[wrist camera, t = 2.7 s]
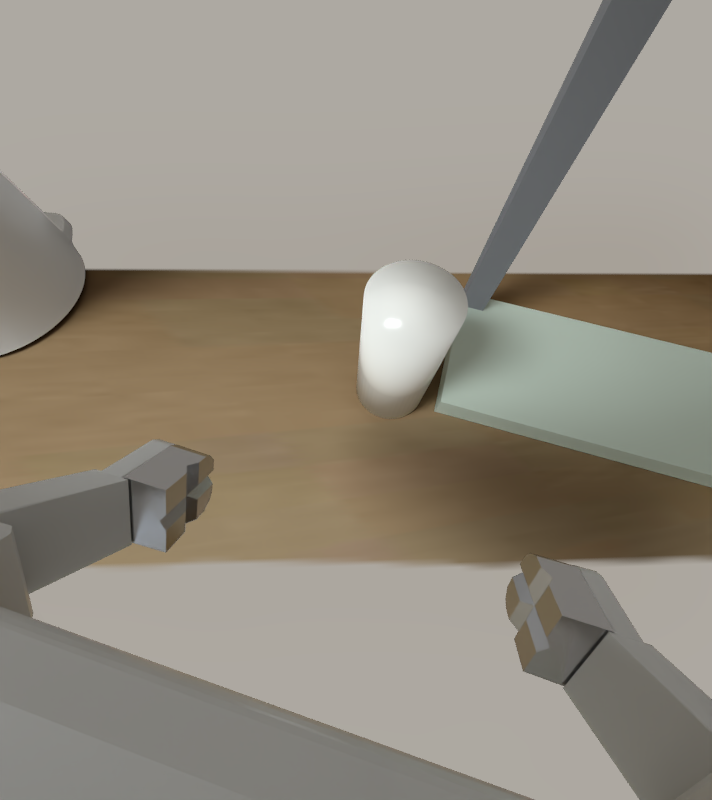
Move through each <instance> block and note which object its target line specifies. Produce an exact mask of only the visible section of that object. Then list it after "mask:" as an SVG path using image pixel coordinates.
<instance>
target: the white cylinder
mask: <svg viewBox="0 0 712 800" xmlns="http://www.w3.org/2000/svg"><path fill="white" fill-rule="evenodd" d="M467 312H468V300H467V296H466V293H465V291H464V289H463V287H462V285H461V284H460V283H459V281H458V280H457V279H456V278H455V277H454V276H453V275H452V274H450V273H449V272H448V271H446V270H445V269H443V268H441V267H439V266H437V265H434V264H432V263H428V262H424V261H418V260H403V261H398V262H394V263H391V264H388V265H386V266H384V267H383V268H381V269H379V270H378V271H377V272H375V273H374V274H373V275H372V277H371V278H370V279H369V281H368V283H367V285H366V287H365V291H364V300H363V313H362V325H361V337H360V349H359V362H358V374H357V386H356V388H357V395H358V398H359V400H360V402H361V403H362V405H363V406H364V407H365V408H366V409H367V410H368V411H369V412H370V413H372V414H374V415H376V416H378V417H381V418H385V419H396V418H401V417H404V416H406V415H408V414H410V413H411V412H412V411H413V410H414V409H415V408H416V407H417V406H418V404H419V402H420V401H421V399H422V397H423V395H424V393H425V392H426V390H427V388H428V386H429V384H430V383H431V381H432V379H433V377H434V375H435V374H436V372H437V370H438V368H439V366H440V364H441V363H442V361H443V359H444V357H445V355H446V354H447V352H448V350H449V348H450V346H451V345H452V343H453V341H454V339H455V337H456V336H457V334H458V332H459V330H460V328H461V327H462V325H463V323H464V321H465V319H466V316H467Z"/></svg>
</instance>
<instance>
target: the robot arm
mask: <svg viewBox="0 0 712 800" xmlns="http://www.w3.org/2000/svg"><path fill="white" fill-rule="evenodd" d="M84 281H85V266H84V263H83V260H82V258H81V256H80V254H79V253H78V251H77V250H76V249H75V247H74V246H73V243H72V226H71V224H70V223H69V222H68V221H67V220H66V219H65V218H64V217H63V216H61V215H60V214H56V213H45V212H43V211H42V210H41V209H40V208H39V207H38V206H36V204H34V203H33V202H32V201H31V200H30V199H29V198H28V197H27V196H26V195H25V194H24V193H23V192H22V191H21V190H20V189H19V188H18V187H17V186H16V185H15V184H14V183H13V182H12V181H11V180H9V179H8V178H7V177H6V176H5V175H4V174H3V173H2V172H1V171H0V355H3V354H6V353H9V352H11V351H14V350H16V349H19V348H21V347H23V346H25V345H27V344H29V343H31V342H33V341H34V340H36V339H38V338H39V337H41V336H42V335H44V334H45V333H47V332H48V331H49V330H51V329H52V328H53V327H54V326H56V325H57V324H58V323H59V322H60V321H61V320H62V319H63V318H64V317H65V316H66V315H67V314H68V313H69V311H70V310H71V309H72V307H73V306H74V305H75V303H76V301H77V300H78V298H79V296H80V294H81V292H82V289H83V286H84ZM213 470H214V459H213V458H212V457H211V456H210V455H207V454H204V453H201V452H198V451H195V450H192V449H189V448H185V447H182V446H179V445H175V444H173V443H169V442H166V441H163V440H160V439H156V440H152V441H150V442H148V443H147V444H145V445H143V446H142V447H140V448H138V449H137V450H135V451H133V452H132V453H130V454H129V455H127V456H125V457H124V458H122V459H120V460H119V461H117V462H115V463H114V464H112V465H111V466H109V467H107V468H106V469H104V470H102V471H99V470H96V469H94V470H90V471H85V472H80V473H76V474H71V475H66V476H62V477H57V478H52V479H48V480H43V481H38V482H34V483H29V484H24V485H20V486H15V487H10V488H6V489H1V490H0V800H534V799H531V798H528V797H526V796H523V795H520V794H517V793H514V792H512V791H509V790H506V789H504V788H501V787H498V786H495V785H493V784H490V783H487V782H484V781H481V780H479V779H476V778H473V777H470V776H468V775H465V774H462V773H459V772H457V771H454V770H451V769H448V768H446V767H443V766H440V765H437V764H435V763H432V762H429V761H426V760H424V759H421V758H418V757H415V756H412V755H410V754H407V753H404V752H401V751H399V750H396V749H393V748H390V747H388V746H385V745H382V744H379V743H376V742H374V741H371V740H368V739H366V738H362V737H360V736H357V735H354V734H352V733H349V732H346V731H343V730H341V729H338V728H335V727H332V726H330V725H327V724H324V723H321V722H319V721H315V720H313V719H310V718H307V717H304V716H302V715H299V714H296V713H294V712H291V711H288V710H285V709H282V708H280V707H277V706H274V705H271V704H269V703H266V702H263V701H260V700H257V699H255V698H252V697H249V696H246V695H243V694H241V693H238V692H235V691H233V690H229V689H227V688H224V687H221V686H219V685H216V684H213V683H210V682H208V681H205V680H202V679H199V678H197V677H194V676H191V675H188V674H185V673H183V672H180V671H177V670H174V669H171V668H169V667H166V666H163V665H160V664H158V663H155V662H152V661H150V660H147V659H144V658H141V657H138V656H136V655H133V654H130V653H127V652H125V651H122V650H119V649H116V648H113V647H111V646H108V645H105V644H102V643H99V642H97V641H94V640H91V639H88V638H86V637H83V636H80V635H78V634H75V633H72V632H69V631H67V630H64V629H61V628H58V627H55V626H52V625H50V624H47V623H44V622H42V621H39V620H36V619H33V618H32V617H33V610H32V606H31V602H30V598H29V594H30V593H32V592H34V591H36V590H38V589H40V588H42V587H44V586H47V585H49V584H51V583H53V582H55V581H57V580H59V579H61V578H63V577H65V576H67V575H69V574H71V573H74V572H76V571H78V570H80V569H82V568H84V567H86V566H88V565H90V564H92V563H94V562H96V561H98V560H101V559H103V558H105V557H107V556H109V555H111V554H113V553H115V552H117V551H119V550H121V549H123V548H125V547H128V546H130V545H131V544H132V543H135V544H139V545H142V546H145V547H149V548H152V549H156V550H159V551H162V552H167V551H168V550H169V549H170V548H171V547H172V545H173V544H174V543H175V542H176V541H177V540H178V539H179V538H180V537H181V536H182V535H183V534H184V532H185V523H188V522H190V521H193V520H196V519H197V518H198V517H199V516H200V515H201V513H202V512H203V511H204V509H205V508H206V506H207V504H208V502H209V500H210V497H211V493H212V485H213V484H212V482H211V480H210V479H209V477H208V475H209V474H210V473H211V472H212V471H213ZM520 565H521V568H522V571H523V573H520V574H518V575H516V576H514V577H512V579H511V581H510V583H509V585H508V587H507V593H506V609H507V613H508V617H509V620H510V621H511V622H512V624H513V625H514V626H515V628H516V629H517V630H518V633H517V635H516V637H515V639H514V640H515V643H516V647H517V651H518V654H519V658H520V662H521V665H522V669H523V671H524V672H527V673H529V674H532V675H535V676H538V677H541V678H543V679H546V680H549V681H551V682H554V683H557V684H560V685H563V686H564V690H565V691H566V693H567V694H568V696H569V697H570V699H571V700H572V702H573V703H574V705H575V706H576V707H577V709H578V710H579V712H580V713H581V715H582V716H583V718H584V719H585V721H586V722H587V724H588V725H589V726H590V728H591V729H592V731H593V732H594V734H595V735H596V737H597V738H598V740H599V741H600V743H601V744H602V746H603V747H604V748H605V750H606V751H607V753H608V754H609V756H610V757H611V759H612V760H613V762H614V763H615V764H616V766H617V767H618V769H619V770H620V772H621V773H622V775H623V776H624V778H625V779H626V780H627V782H628V783H629V785H630V786H631V788H632V789H633V791H634V792H635V794H636V795H637V797H638V798H639V799H640V800H712V699H710V697H708V696H707V695H706V694H705V693H704V692H703V691H702V690H701V689H699V688H698V687H697V686H696V685H695V684H694V683H693V682H692V681H691V680H689V679H688V678H687V677H686V676H685V675H684V674H683V673H682V672H681V671H680V670H678V669H677V668H676V667H675V666H674V665H673V664H672V663H671V662H670V661H668V660H667V659H666V658H665V657H664V656H663V655H662V654H661V653H659V652H658V651H657V650H656V649H655V648H654V647H653V646H652V645H649V644H646V643H643V641H642V639H641V638H640V636H639V635H638V633H637V631H636V630H635V628H634V627H633V625H632V623H631V622H630V620H629V618H628V617H627V616H626V614H625V612H624V610H623V609H622V607H621V606H620V604H619V602H618V601H617V599H616V598H615V596H614V594H613V593H612V591H611V590H610V588H609V586H608V585H607V583H606V582H605V580H604V578H603V577H602V576H601V575H600V574H598V573H597V572H596V571H593V570H589V569H586V568H582V567H578V566H575V565H569V564H566V563H562V562H559V561H556V560H552V559H549V558H546V557H542V556H539V555H536V554H532V553H529V554H527V555H526V556H525V557H524V558H523V560H522V562H521V563H520Z"/></svg>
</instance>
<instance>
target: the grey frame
mask: <svg viewBox="0 0 712 800" xmlns="http://www.w3.org/2000/svg"><path fill="white" fill-rule="evenodd" d="M671 1H672V0H603V1H602V3H601V5H600V7H599V10H598V12H597V14H596V16H595V18H594V20H593V22H592V24H591V26H590V28H589V30H588V32H587V35H586V37H585V39H584V41H583V43H582V45H581V47H580V49H579V51H578V53H577V56H576V58H575V59H574V62H573V64H572V66H571V68H570V70H569V72H568V74H567V76H566V78H565V80H564V82H563V85H562V87H561V89H560V91H559V93H558V95H557V97H556V99H555V101H554V103H553V105H552V107H551V109H550V111H549V114H548V116H547V118H546V120H545V122H544V124H543V126H542V128H541V130H540V133H539V134H538V136H537V139H536V141H535V143H534V145H533V147H532V149H531V151H530V153H529V155H528V157H527V159H526V162H525V163H524V166H523V168H522V170H521V172H520V174H519V176H518V178H517V180H516V182H515V184H514V186H513V188H512V191H511V193H510V195H509V197H508V199H507V201H506V203H505V205H504V207H503V209H502V211H501V214H500V216H499V218H498V220H497V222H496V224H495V226H494V228H493V230H492V232H491V234H490V237H489V239H488V240H487V243H486V245H485V247H484V249H483V251H482V253H481V255H480V257H479V259H478V261H477V263H476V265H475V268H474V270H473V272H472V274H471V276H470V278H469V280H468V282H467V284H466V286H465V288H464V291H465V293H466V296H467V300H468V312H467V316H466V319H465V321H464V323H463V325H462V327H461V328H460V330H459V332H458V334H457V336H456V337H455V339H454V341H453V343H452V345H451V346H450V348H449V350H448V352H447V354H446V356H445V361H444V366H443V371H442V375H441V380H440V385H439V390H438V395H437V400H436V405H435V410H434V411H435V412H438V413H442V414H446V415H449V416H453V417H456V418H460V419H464V420H467V421H471V422H475V423H478V424H482V425H486V426H489V427H493V428H497V429H500V430H504V431H507V432H511V433H515V434H518V435H522V436H526V437H529V438H533V439H537V440H540V441H544V442H548V443H551V444H555V445H558V446H562V447H566V448H569V449H573V450H577V451H580V452H584V453H588V454H591V455H595V456H599V457H602V458H606V459H609V460H613V461H617V462H620V463H624V464H628V465H631V466H635V467H639V468H642V469H646V470H650V471H653V472H657V473H660V474H664V475H668V476H671V477H675V478H679V479H682V480H686V481H690V482H693V483H697V484H701V485H704V486H708V487H712V353H710V352H706V351H702V350H698V349H694V348H690V347H685V346H681V345H677V344H673V343H669V342H665V341H661V340H657V339H653V338H649V337H644V336H640V335H636V334H632V333H628V332H624V331H620V330H616V329H612V328H608V327H603V326H599V325H595V324H591V323H587V322H583V321H579V320H575V319H571V318H567V317H562V316H558V315H554V314H550V313H546V312H542V311H538V310H534V309H530V308H525V307H521V306H517V305H513V304H509V303H505V302H501V301H497V300H493V299H490V298H491V297H492V295H493V293H494V292H495V290H496V288H497V287H498V285H499V284H500V282H501V280H502V279H503V277H504V275H505V274H506V272H507V270H508V269H509V267H510V265H511V264H512V262H513V261H514V259H515V257H516V256H517V254H518V252H519V251H520V249H521V247H522V246H523V244H524V242H525V241H526V239H527V237H528V236H529V234H530V233H531V231H532V229H533V228H534V226H535V224H536V223H537V221H538V219H539V218H540V216H541V214H542V213H543V211H544V210H545V208H546V206H547V205H548V203H549V201H550V199H551V198H552V197H553V195H554V193H555V192H556V190H557V188H558V187H559V185H560V183H561V182H562V180H563V178H564V177H565V175H566V174H567V172H568V170H569V169H570V167H571V165H572V164H573V162H574V160H575V159H576V157H577V155H578V154H579V152H580V151H581V149H582V147H583V146H584V144H585V142H586V141H587V139H588V137H589V136H590V134H591V132H592V131H593V129H594V128H595V126H596V124H597V122H598V121H599V119H600V118H601V116H602V114H603V113H604V111H605V109H606V108H607V106H608V104H609V103H610V101H611V100H612V98H613V96H614V95H615V93H616V91H617V90H618V88H619V86H620V85H621V83H622V81H623V80H624V78H625V76H626V75H627V73H628V72H629V70H630V68H631V67H632V65H633V63H634V62H635V60H636V59H637V57H638V55H639V54H640V52H641V50H642V49H643V47H644V45H645V44H646V42H647V40H648V38H649V37H650V36H651V34H652V32H653V31H654V29H655V27H656V26H657V24H658V22H659V21H660V19H661V17H662V16H663V14H664V12H665V11H666V9H667V8H668V6H669V4H670V3H671Z"/></svg>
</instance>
